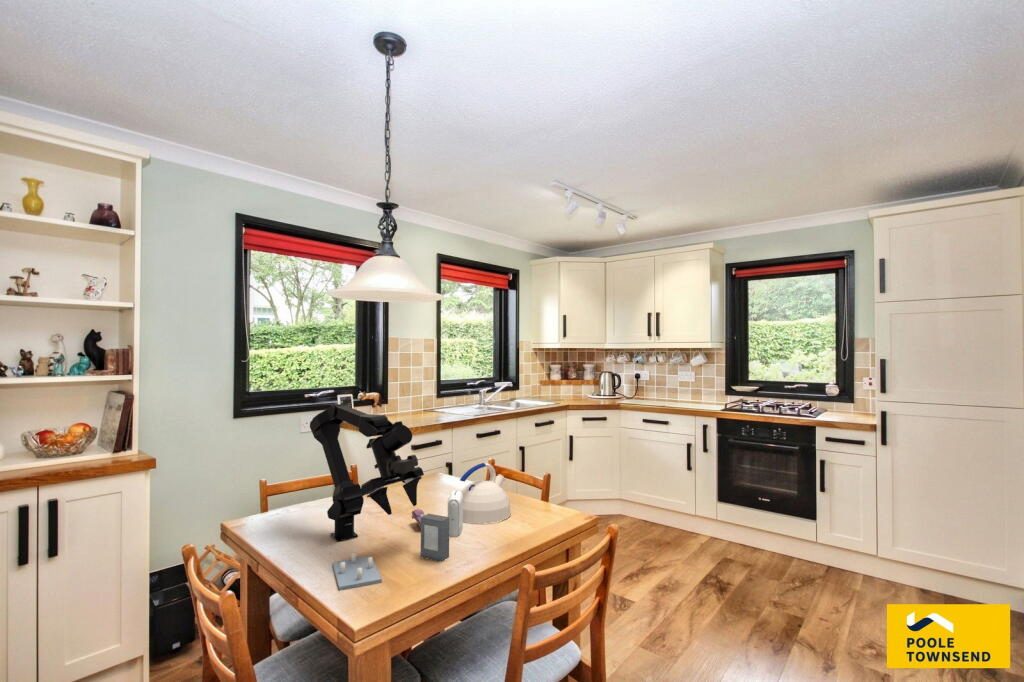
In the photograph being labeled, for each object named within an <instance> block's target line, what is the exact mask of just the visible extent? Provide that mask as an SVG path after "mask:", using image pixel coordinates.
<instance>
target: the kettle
mask: <svg viewBox="0 0 1024 682" xmlns="http://www.w3.org/2000/svg"><path fill="white" fill-rule="evenodd" d="M484 467H485V468H488V470H489V480H483V479H481V480H480V479H479V480H475V481H473V482H470V483H468V484H467V485H466V486H464V487H463V488H462V490H460V491H461V493H462V494H463V523H465V522H466V524H471V523H479V524H478V525H483V524H482V523H491V522H497V521H500V520H503V519H505V518H507V517H508V516H509V515H510V513H511V514H512V512H511V502H510V499H509V497H508V493H506V491H505V490H504V489H503V488H502V484H504V482H505V481H506V478H505V477H504V475H502V474H496V469H495V468H494V466H493V465H492V464H490V463H485V462H481V463H479V464H476V465H474V466H472V467H471V468H469V469H468V470H467V471H466V472H464V473H463V475H462V476H461V477H460V479H459V481H460V482H464V483H465V482H466V481H467V479H468V478H469V477H471V475H472V474H473V473H474V472H476V471H478V470H479V469H482V468H484ZM510 516H511V515H510Z"/></svg>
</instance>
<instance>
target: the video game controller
mask: <svg viewBox="0 0 1024 682" xmlns="http://www.w3.org/2000/svg"><path fill="white" fill-rule="evenodd" d="M425 515H426V514H425V511H423V509H420V508H416V509H414V510H412V511H411V517H410V518H411V519H414V520H415V521H416V522H417V524H418V526H419V527H418V528H420V529H421V517H423V516H425Z"/></svg>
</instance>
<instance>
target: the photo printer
mask: <svg viewBox="0 0 1024 682" xmlns="http://www.w3.org/2000/svg"><path fill="white" fill-rule="evenodd" d="M461 491H462V490H456V489H454V490H452V492H451V493H450V494H449V497H448V500H447V517H449V537H458V536H460V534H461V532H462V529H463V524H464V522H463V494H462V493H461Z"/></svg>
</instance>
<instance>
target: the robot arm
mask: <svg viewBox="0 0 1024 682" xmlns="http://www.w3.org/2000/svg"><path fill="white" fill-rule="evenodd" d="M343 423H347V424H349V425H352V426H353V427H356V428H357V429H358V432H359V433H360V434H361V435H363V436H365V437H366V438H369V439H368V443H367V444H366V445H365V447H366V449H372V453H373V456H374V459H375V463H376V464H374V469H376V470H377V469H378V471H379V475H380V476H378V477H374V478H371V479H369V480H367V481H366V482H364V483H363V484H361V485H360V484H359V483H356V484H355V483H354V482H353V481H352V479H351V476H350V474H349V470H348V467H347V464H346V460H345V457H344V454H343V451H342V448H341V445H340V441H339V435H340V432H341V427H340V426H341V425H342V424H343ZM309 428H310V431H311V433H312V435H313V438H314V439H315V440H316V441H317V442H318V443H320V445H321V446H322V449H323V452H324V456H325V458H326V463H327V465H328V469H329V471H330V475H331V479H332V482H333V485H334V489H333V492H332V493H333V494H332V497H331V498H332V504H331V505H330V507H329V508H328V510H327V511H326V514H327V517H328V519H329V520H333V521H334V532H331V533H330V536H331V537H332V538H333V539H334V540H335V541H336V542H341V541H344V540H349V539H354V538H358V537H359V534H358V533H356V532H355V516H357V515H361V514H362V509H363V506H364V503H365V502H364V500H365V499H364V496H366V497H367V498H370V499H371V500H373V502H375V503H376V504H377V505H378V506H379V507H380V508H381V509H382V510H383V511H384V512H385V513H386V514H387V515H388V516H390V515H392V513H393V512H392V508H391V504H390V501H389V497H388V494H387V493H388V486H390V485H393V484H397V483H399V482H401V483H403V485H402V488H403V490H404V491H405V493H406V496H407V497H408V499H409V501H410V503H411V505H412V506H413V507H415V506H417V505H418V499H417V498H418V484H419V482H420V481H421V479H422V477H423V476H424V475H425V474H424V470H423V468H422V467H420V466H418V465H419V461H418V458H417V455H416V454H411V455H408V456H407V458H405V459H402V457H401V456H400V455H399V454H398V455H397V454H396V451H398V450H400V449H402V448H403V447H405V446H406V445H408V444H410V443H411V442H412V440H413V433H412V431H411V429H410V428H409V427H408V426H406V425H405V424H404V423H403V421H401V420H400V421H395V422H394V423H392V422H391V421H390V419H389V418H388V416H387V415H384V414H371V413H370V414H369V413H365V412H363V411H360V410H357V409H355V408H352V407H351V406H347V404H344V403H337V404H331V405H329V406H328V407H327V408H326V409H325V410H323V411H321V412H319V413H317V414H316V415H315V416H313V418H312V419H311V421H310V423H309ZM370 437H375V438H370Z"/></svg>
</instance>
